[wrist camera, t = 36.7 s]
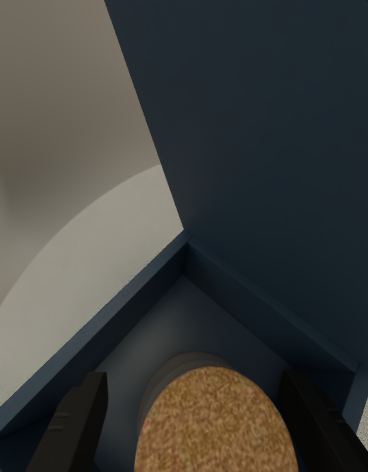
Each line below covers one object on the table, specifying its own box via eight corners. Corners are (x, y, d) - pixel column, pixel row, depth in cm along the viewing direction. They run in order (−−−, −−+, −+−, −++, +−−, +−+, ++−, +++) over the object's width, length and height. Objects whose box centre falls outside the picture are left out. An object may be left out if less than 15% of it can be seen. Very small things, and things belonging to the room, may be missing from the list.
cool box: (184, 608, 14) (204, 925, 6) (46, 410, 19) (-44, 448, 11) (301, 366, 21) (376, 371, 14) (181, 266, 26) (185, 227, 18)
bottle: (222, 428, 18) (364, 621, 5) (152, 438, 17) (100, 687, 4) (212, 350, 21) (283, 339, 8) (151, 356, 20) (117, 356, 7)
